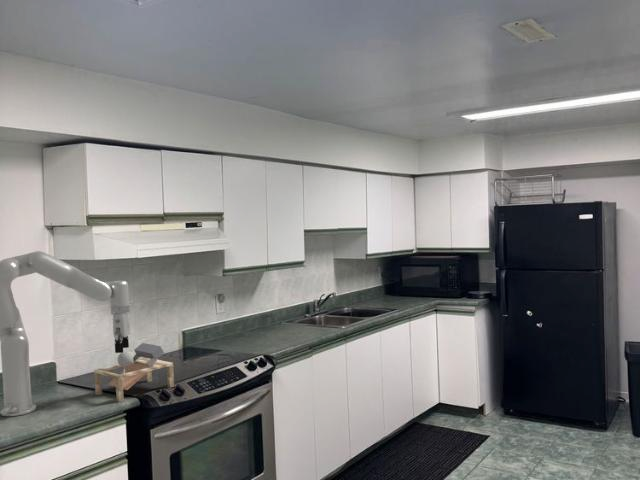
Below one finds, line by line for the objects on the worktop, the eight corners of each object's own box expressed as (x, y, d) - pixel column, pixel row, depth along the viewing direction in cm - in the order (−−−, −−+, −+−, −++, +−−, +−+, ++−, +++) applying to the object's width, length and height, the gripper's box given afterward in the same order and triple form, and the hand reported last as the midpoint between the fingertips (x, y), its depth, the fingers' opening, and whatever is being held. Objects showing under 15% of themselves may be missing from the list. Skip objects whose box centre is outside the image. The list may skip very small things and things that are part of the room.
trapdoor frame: (149, 380, 271) (148, 357, 270) (174, 386, 258) (173, 362, 258) (95, 394, 251) (94, 370, 250) (119, 402, 238) (117, 376, 238)
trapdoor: (148, 353, 267) (142, 342, 265) (166, 356, 258) (160, 346, 256) (109, 385, 253) (103, 374, 251) (127, 390, 244) (120, 379, 242)
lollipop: (128, 379, 244) (134, 347, 254) (111, 380, 244) (117, 348, 253) (132, 387, 250) (137, 355, 259) (115, 387, 249) (121, 356, 259)
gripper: (124, 312, 241) (126, 354, 242) (133, 306, 258) (135, 345, 259) (105, 313, 240) (107, 355, 241) (116, 307, 258) (118, 346, 258)
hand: (122, 350), depth 250 cm, fingers open, 9 cm apart
